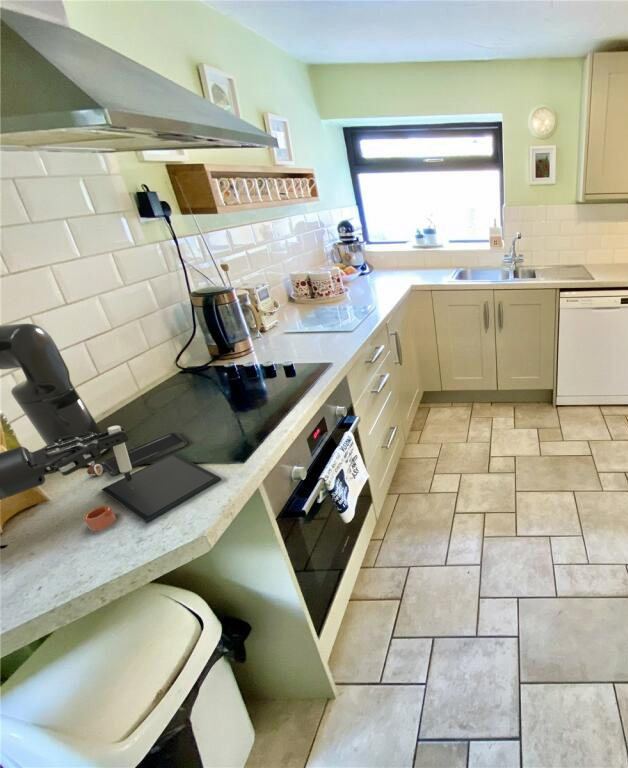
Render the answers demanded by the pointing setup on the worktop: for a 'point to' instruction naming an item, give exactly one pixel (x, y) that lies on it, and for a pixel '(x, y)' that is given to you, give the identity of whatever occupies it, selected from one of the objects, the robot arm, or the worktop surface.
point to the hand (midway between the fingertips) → (125, 433)
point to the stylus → (121, 455)
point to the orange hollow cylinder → (99, 518)
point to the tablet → (161, 487)
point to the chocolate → (95, 470)
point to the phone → (147, 452)
